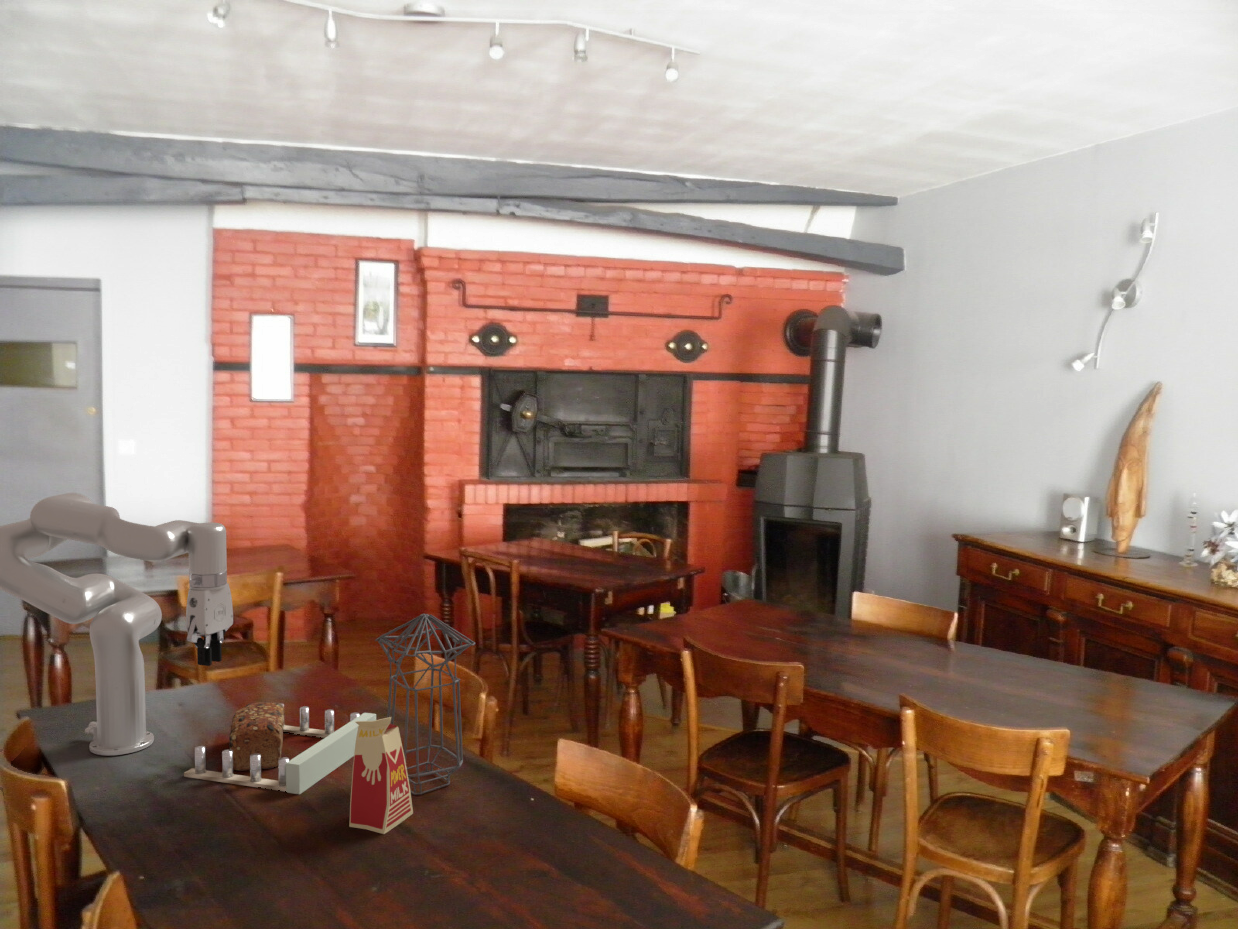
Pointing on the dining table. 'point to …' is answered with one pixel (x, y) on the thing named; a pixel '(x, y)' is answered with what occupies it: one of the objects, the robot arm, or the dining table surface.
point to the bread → (257, 734)
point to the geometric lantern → (450, 633)
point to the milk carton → (379, 778)
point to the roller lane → (299, 769)
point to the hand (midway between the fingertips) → (209, 662)
